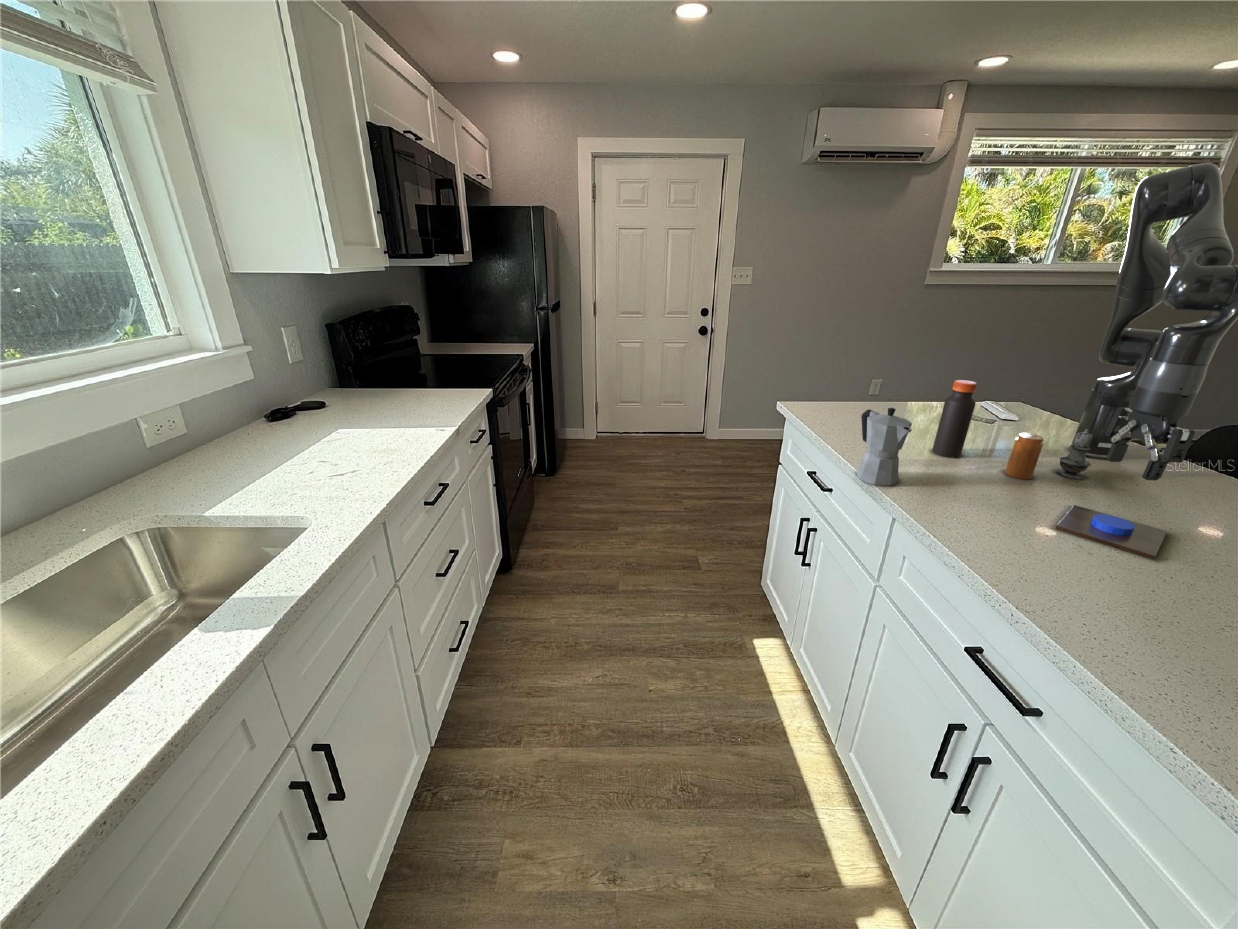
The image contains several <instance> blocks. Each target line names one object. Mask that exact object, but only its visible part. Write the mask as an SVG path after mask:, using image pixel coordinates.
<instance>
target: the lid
mask: <svg viewBox="0 0 1238 929" xmlns="http://www.w3.org/2000/svg"><path fill="white" fill-rule="evenodd" d="M1115 516H1116V515H1112V516H1111V514H1109V515H1103V514H1099V515H1095V516H1094V518H1093V519H1092V521H1091V523H1092V525H1093V526H1094V527H1095V528H1097V529H1099V530H1101V531H1104V532H1107V533H1110V534H1114V535H1121V536H1128V535H1131V534H1132V533H1133V531H1134V528H1135V526H1134V525H1133V524H1132V523H1131V522H1129V521H1127V520H1128V519H1126V520H1124V519H1125V518H1123V517H1119V516H1116V517H1115ZM1122 518H1123V519H1122Z"/></svg>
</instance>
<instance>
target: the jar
mask: <svg viewBox="0 0 1238 929" xmlns="http://www.w3.org/2000/svg"><path fill="white" fill-rule="evenodd" d="M1017 436H1018V437H1015V439H1014V442H1013V446H1012V448H1011V451H1010V454H1009V458H1008V460H1007V464H1006V467H1005V470H1004V473H1005V475H1007V476H1009V477H1011V478H1014V479H1019V480H1031V479H1032V478H1033V475H1034V472H1035V470H1036V466H1037V464H1038V462H1039V458H1040V456H1041V452H1042V450H1043V447H1044V445H1045V443H1044V437H1043V436H1041V435H1038V434H1035V433H1030V432H1029V433H1028V432H1021V433H1019V434H1018V435H1017Z"/></svg>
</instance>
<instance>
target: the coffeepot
mask: <svg viewBox="0 0 1238 929" xmlns="http://www.w3.org/2000/svg"><path fill="white" fill-rule="evenodd" d="M896 411H897V409H896V408H894V407H888V408H887V414H880V412H878V411H876V410H875V411H874V410H872V409H871V408H870V409H866V410H865V411H864V412H862V413H861V418H860V420H861V435H862V442H864V443H866V445H867V450H866V451H864V453H863V456H862V459H861V461H860V464H859V465H858V468H857V470H856V472H855V473H856V476H857V478H858V479H859V480H860V481H862V482H864V483H867V484H871V485H874V486H881V487H889V486H893V485H896V483H898V482H899V467H900V464H899V462H900V458H899V452H900V450H902V449H903V446H904V444H905V442H906V439H907V437H908V435H909V433H912V431H913V429H912V425H913V423H912V422H911V421H910V420H909V419H907V418H905V417H901V416H897V415H895V412H896Z"/></svg>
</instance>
